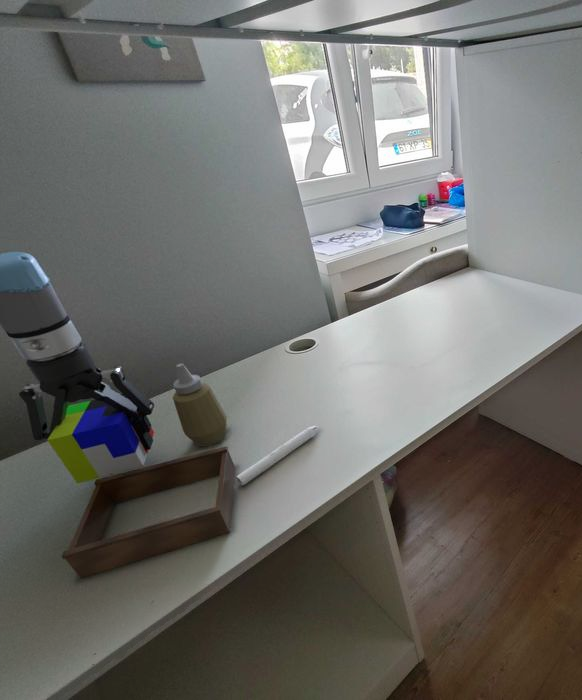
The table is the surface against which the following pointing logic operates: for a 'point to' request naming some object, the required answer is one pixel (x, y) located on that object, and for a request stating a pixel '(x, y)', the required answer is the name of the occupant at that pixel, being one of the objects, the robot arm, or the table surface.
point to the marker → (276, 455)
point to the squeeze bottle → (198, 409)
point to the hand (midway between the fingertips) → (116, 453)
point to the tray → (136, 545)
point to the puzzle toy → (97, 441)
